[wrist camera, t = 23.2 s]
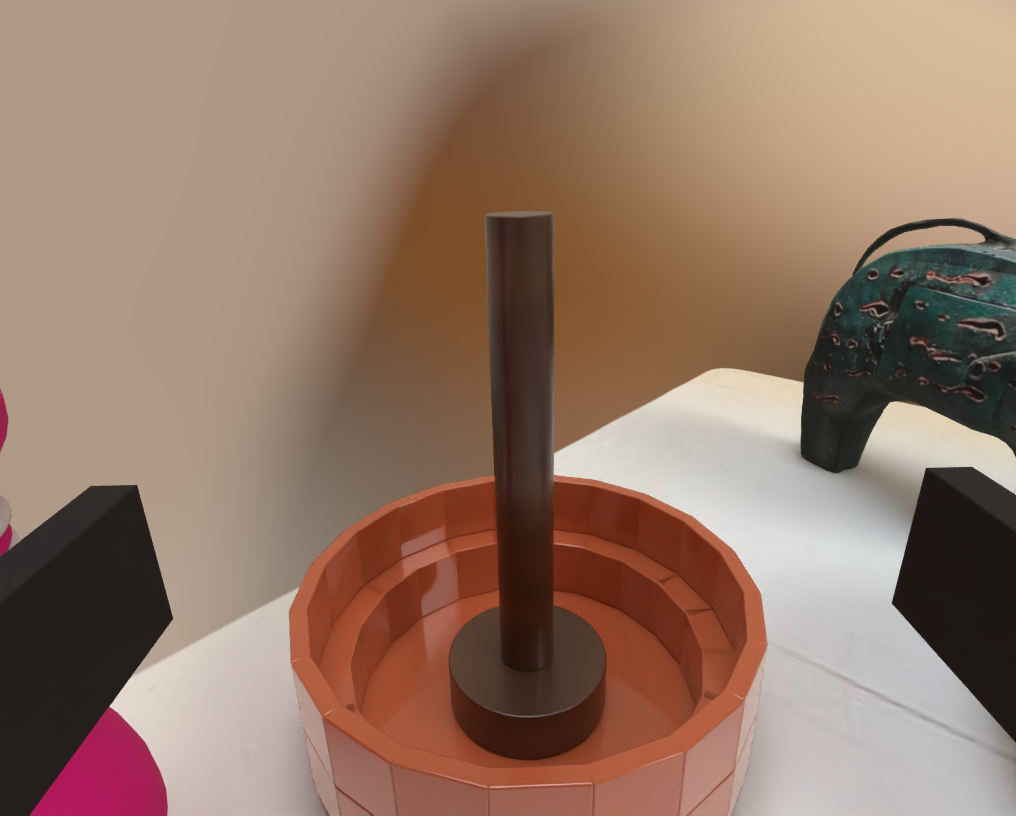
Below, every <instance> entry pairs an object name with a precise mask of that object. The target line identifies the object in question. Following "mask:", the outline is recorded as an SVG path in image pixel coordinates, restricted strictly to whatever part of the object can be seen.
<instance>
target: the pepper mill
mask: <svg viewBox="0 0 1016 816" xmlns="http://www.w3.org/2000/svg"><path fill="white" fill-rule="evenodd" d="M7 426H8V415H7V411H6V406H5V403H4V398H3V394H2V392H1V390H0V451H1V449H2V446H3V444H4V441H5V439H6V435H7ZM11 516H12V513H11V507H10V505H9V502H8V500H6V499H5V498H4V497H3V496H1V495H0V556H2V555H3V554H4V553H5V552H7V551H8V550H9V549H11V548H12V547H13V546H14V545H16V544H17V543H18V542H20V541H21V540H22V537H21V536H20V535H19V534H18V533H17V532H16V531H15V530H13V529H12V527H11V526H10V524H9V523H10V520H11ZM167 811H168V804H167V794H166V787H165V785H164V782H163V779H162V776H161V773H160V770H159V768H158V766H157V764H156V763H155V761H154V759H153V757H152V755H151V753H150V751H149V749H148V747H147V745H146V743H145V742H144V741H143V739H142V738H141V737H140V736H139V735H138V734H137V732H136V731H135V730H134V729H133V728H132V727H131V726H130V725H129V724H128V723H127V722H126V721H125V720H124V719H123V718H122V717H121V716H120V715H119V714H118V713H117V712H116V711H114V710H113V709H111V708H110V707H108V709H107V710H106V712H105V713H104V714H103V716H102V717H101V718H100V720H99V721H98V722H97V724H96V725H95V727H94V728H93V729H92V731H91V732H90V733H89V735H88V736H87V738H86V739H85V740H84V742H83V743H82V744H81V746H80V747H79V749H78V750H77V751H76V753H75V754H74V755H73V757H72V758H71V759H70V761H69V762H68V764H67V765H66V766H65V768H64V769H63V770H62V772H61V773H60V775H59V776H58V777H57V779H56V780H55V781H54V783H53V784H52V786H51V787H50V788H49V790H48V791H47V792H46V794H45V795H44V796H43V798H42V799H41V801H40V802H39V803H38V805H37V806H36V807H35V809H34V810H33V812H32V813H31V814H30V816H167Z"/></svg>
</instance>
